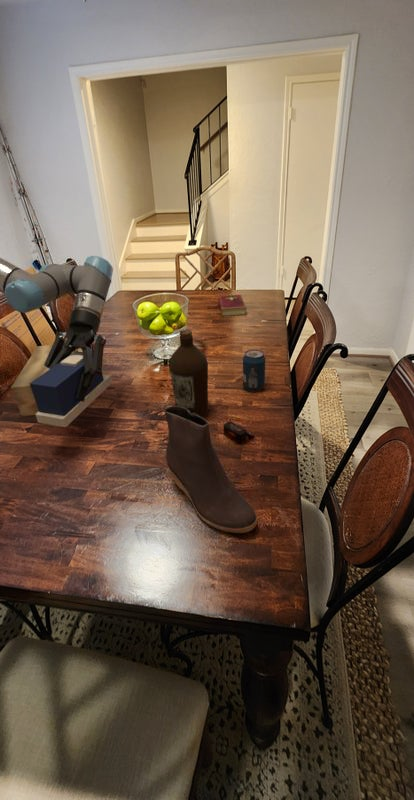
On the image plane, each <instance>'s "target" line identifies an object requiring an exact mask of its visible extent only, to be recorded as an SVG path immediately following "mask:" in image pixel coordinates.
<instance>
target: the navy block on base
mask: <svg viewBox="0 0 414 800" xmlns="http://www.w3.org/2000/svg"><path fill="white" fill-rule="evenodd" d="M93 355H94V353H92V359H93ZM84 372H85V367H84V360H83V352H76V351H75V352H73V353H72V354H71V355H70V356H68V357H67V358H66V359H64V360H62V361H61V362H59V363H58V364H57V365H55V366H54V367H52V368H51V369H49V370H48V371H47V372H45V373H44V374H42V375H41V376H40V377H38V378H37V379H35V380H34V381H33V382H31V383H30V386H31V389H32V392H33V395H34V398H35V401H36V404H37V407H38V410H39V412H37V413H36V414H35V415H34V416H35V418H36V420H37V423H39V424H44V425H50V426H57V427H61V428H62V427H63V428H67V427H68V426H69V425H70V424H71V423H72V422H73V421H74V420H75V419H76V418H77V417H78V416H80V415H81V414H82V413H83V411H84V410H86V409H87V408H88V407H89V405H91V404H92V403H93V402H94V401H95V400H96V399H97V398H99V396H100V395H101V394H102V393H103V392H104V391H106V390H107V388H109V387H110V386H111V384H113V381H112V376H111V374H105V373H103V372H102V373H103V374H102V373H101V375H95V376H93V378H92V382H91V386H90V388H89V389H88V388H87V392H86V396H85V400H84V402H82V401H79V400H77V399H75V398H76V394H77V390H78V386H79V382H80V379H81V375H82V374H86V373H84Z"/></svg>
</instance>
